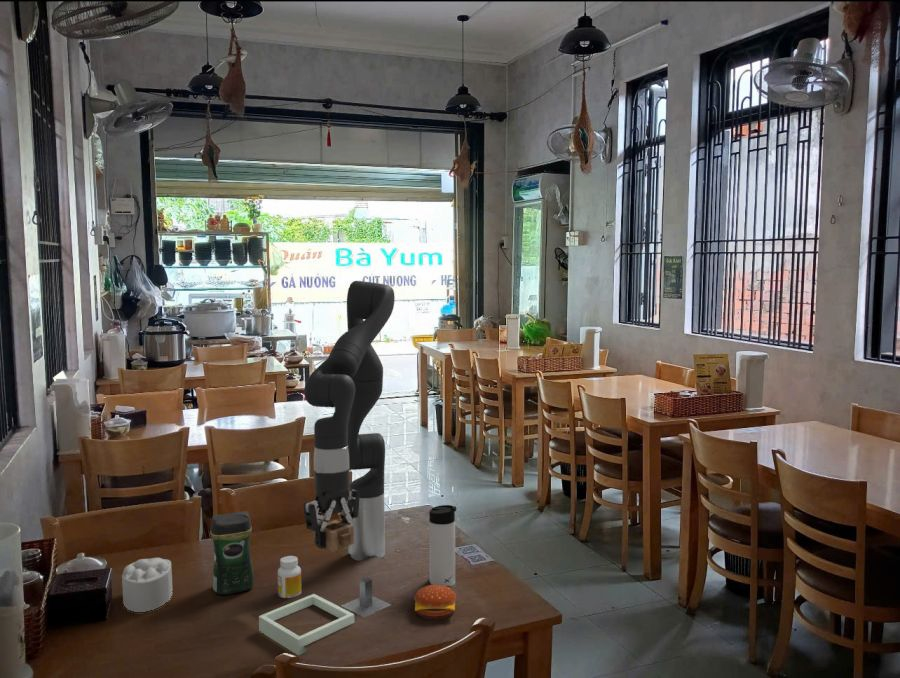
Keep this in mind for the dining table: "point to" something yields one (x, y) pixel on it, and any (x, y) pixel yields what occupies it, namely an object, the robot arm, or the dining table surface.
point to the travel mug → (442, 545)
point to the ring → (338, 535)
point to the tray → (298, 642)
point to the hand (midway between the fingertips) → (333, 543)
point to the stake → (365, 600)
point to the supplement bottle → (289, 577)
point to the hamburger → (435, 602)
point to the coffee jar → (232, 553)
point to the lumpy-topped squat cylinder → (147, 584)
